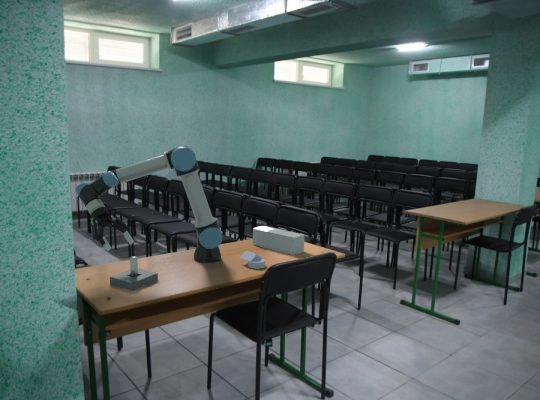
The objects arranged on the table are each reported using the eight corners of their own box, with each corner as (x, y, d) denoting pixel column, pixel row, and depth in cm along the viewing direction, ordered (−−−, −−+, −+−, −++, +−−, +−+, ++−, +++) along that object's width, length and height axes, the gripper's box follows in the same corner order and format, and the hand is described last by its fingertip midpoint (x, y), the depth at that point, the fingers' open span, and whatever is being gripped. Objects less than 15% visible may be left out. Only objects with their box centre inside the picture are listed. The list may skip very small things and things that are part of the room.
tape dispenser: (239, 263, 234) (256, 269, 225) (239, 251, 233) (256, 257, 224) (251, 260, 240) (268, 266, 231) (251, 249, 239) (268, 254, 230)
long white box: (252, 244, 273) (252, 228, 272) (263, 241, 282) (263, 225, 280) (293, 255, 254) (294, 237, 252) (303, 252, 262) (304, 234, 260)
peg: (134, 280, 203) (133, 255, 201) (139, 281, 202) (138, 257, 200) (129, 282, 201) (128, 257, 199) (134, 283, 199) (133, 258, 197)
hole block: (136, 274, 211) (136, 267, 211) (157, 280, 205) (157, 273, 204) (110, 284, 198) (109, 276, 197) (132, 290, 191) (132, 283, 190)
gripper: (114, 211, 219) (137, 245, 215) (71, 219, 197) (95, 257, 193) (122, 202, 216) (144, 236, 211) (78, 209, 194) (103, 247, 190)
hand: (121, 246), depth 202 cm, fingers open, 13 cm apart
